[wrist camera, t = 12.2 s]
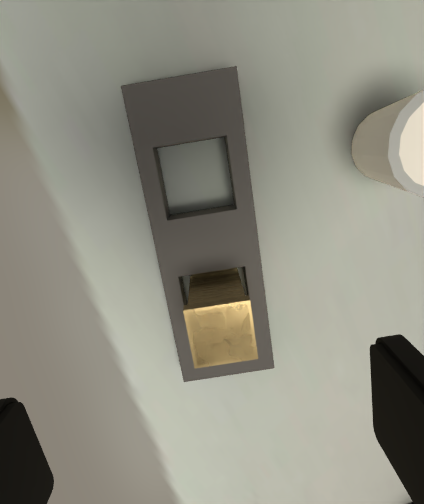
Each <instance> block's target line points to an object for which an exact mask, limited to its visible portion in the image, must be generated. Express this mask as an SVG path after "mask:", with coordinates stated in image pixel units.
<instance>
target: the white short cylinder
mask: <svg viewBox="0 0 424 504" xmlns="http://www.w3.org/2000/svg"><path fill="white" fill-rule="evenodd" d="M351 154H352V157H353V160H354V163H355V166H356V167H357V168H358V169H359V171H360V172H361V173H362V174H363V175H364V176H366V177H369V178H372V179H374V180H377V181H380V182H382V183H385V184H388V185H391V186H393V187H396V188H399V189H402V190H404V191H407V192H410V193H413V194H415V195H418V196H421V197H424V90H422V91H419V92H417V93H415V94H413V95H411V96H408V97H406V98H404V99H402V100H399V101H397V102H395V103H393V104H390V105H388V106H386V107H384V108H381V109H379V110H377V111H375V112H373V113H371V114H369V115H368V116H367V117H366V118H365V119H364V120H363V121H362V122H361V123H360V124H359V126H358V127H357V130H356V132H355V134H354V137H353V139H352V152H351Z"/></svg>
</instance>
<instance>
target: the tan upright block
mask: <svg viewBox="0 0 424 504" xmlns="http://www.w3.org/2000/svg"><path fill="white" fill-rule="evenodd" d="M183 313H184V318H185V323H186V328H187V333H188V338H189V343H190V348H191V353H192V358H193V363H194V368H202V367H209V366H215V365H222V364H228V363H235V362H241V361H248V360H255V359H258V353H257V346H256V339H255V331H254V324H253V317H252V310H251V303H250V298H249V295H248V296H245V293H244V290H243V286H242V283H241V280H240V276H239V273H238V269H237V268H231V269H224V270H218V271H212V272H206V273H199V274H193V275H191V276H190V286H189V296H188V305H184V308H183Z"/></svg>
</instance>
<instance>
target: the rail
mask: <svg viewBox="0 0 424 504" xmlns="http://www.w3.org/2000/svg"><path fill="white" fill-rule="evenodd" d="M121 88H122V93H123V98H124V103H125V107H126V112H127V117H128V121H129V126H130V131H131V135H132V140H133V145H134V150H135V154H136V159H137V164H138V168H139V173H140V178H141V182H142V187H143V192H144V197H145V201H146V206H147V211H148V215H149V220H150V225H151V229H152V234H153V239H154V244H155V248H156V253H157V258H158V262H159V267H160V272H161V276H162V281H163V286H164V291H165V295H166V300H167V305H168V309H169V314H170V319H171V324H172V328H173V333H174V338H175V342H176V347H177V352H178V356H179V361H180V366H181V371H182V375H183V380H184V382H187V381H194V380H200V379H207V378H213V377H220V376H226V375H233V374H239V373H246V372H252V371H259V370H265V369H272V368H274V361H273V353H272V345H271V337H270V329H269V321H268V313H267V305H266V297H265V289H264V281H263V273H262V265H261V257H260V249H259V241H258V233H257V226H256V218H255V210H254V202H253V194H252V186H251V178H250V170H249V162H248V154H247V146H246V138H245V130H244V122H243V114H242V106H241V98H240V90H239V82H238V74H237V66H235V67H229V68H223V69H217V70H211V71H205V72H200V73H194V74H188V75H182V76H176V77H170V78H164V79H158V80H153V81H147V82H141V83H135V84H129V85H123V86H121ZM220 137H225V143H226V150H227V157H228V164H229V171H230V178H231V185H232V192H233V199H234V205H229V206H223V207H217V208H211V209H204V210H198V211H192V212H186V213H180V214H174V215H170V212H169V207H168V202H167V197H166V192H165V187H164V182H163V177H162V171H161V166H160V161H159V156H158V151H157V148H160V147H166V146H172V145H178V144H184V143H190V142H196V141H202V140H208V139H214V138H220ZM237 267H243V270H244V277H245V284H246V291H247V296H248V295H249V298H250V303H251V310H252V317H253V324H254V331H255V339H256V346H257V353H258V359H255V360H248V361H241V362H235V363H228V364H222V365H215V366H209V367H202V368H194V363H193V358H192V353H191V348H190V343H189V338H188V333H187V328H186V323H185V318H184V313H183V308H184V305H187V300H186V295H185V289H184V284H183V279H182V276H187V275H193V274H199V273H206V272H212V271H218V270H224V269H231V268H237Z"/></svg>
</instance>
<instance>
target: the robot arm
mask: <svg viewBox="0 0 424 504" xmlns="http://www.w3.org/2000/svg"><path fill="white" fill-rule="evenodd" d="M370 364H371V386H372V408H373V427H374V432H375V435H376V438H377V440H378V442H379V444H380V446H381V447H382V449H383V451H384V453H385V454H386V456H387V458H388V459H389V461H390V463H391V465H392V466H393V468H394V470H395V472H396V473H397V475H398V477H399V478H400V480H401V482H402V484H403V485H404V487H405V489H406V490H407V492H408V494H409V496H410V497H411V499H412V501H413V503H414V504H424V356H423V355H422V354H421V353H420V352H419V351H418V350H417V349H416V348H415V347H414V346H413V345H412V344H411V343H410V342H409V341H408V340H407V339H406V338H405V337H404V336H402V335H393V336H386V337H380V338H377V340H376V344H374V345H371V346H370ZM53 484H54V479H53V474H52V472H51V470H50V467H49V465H48V462H47V460H46V458H45V455H44V453H43V451H42V448H41V446H40V443H39V441H38V438H37V436H36V434H35V431H34V429H33V426H32V424H31V421H30V419H29V417H28V414H27V412H26V409H25V407H24V405H23V404H22V403H21V402H18V401H17V400H16V399H15V398H6V399H0V504H47V502H48V499H49V497H50V495H51V493H52V490H53Z"/></svg>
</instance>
